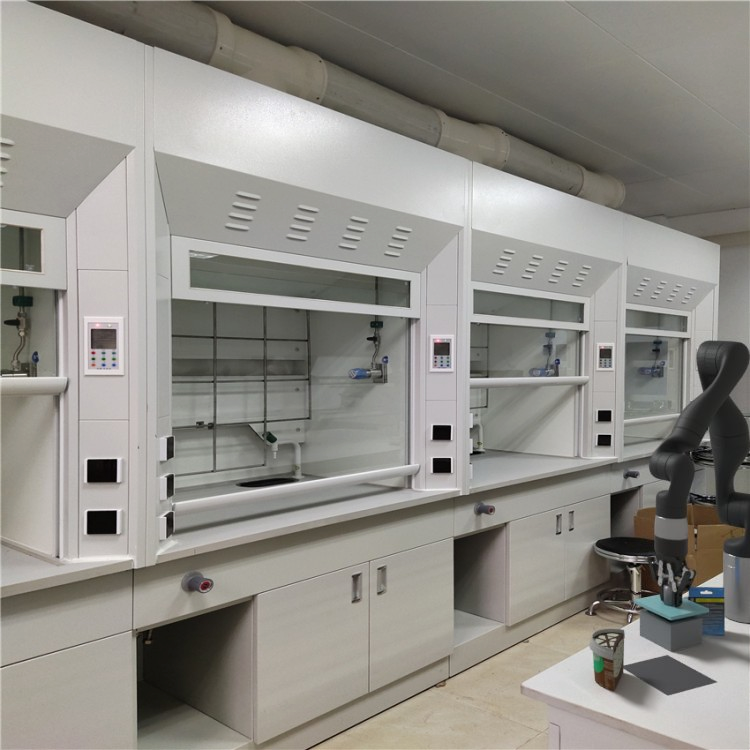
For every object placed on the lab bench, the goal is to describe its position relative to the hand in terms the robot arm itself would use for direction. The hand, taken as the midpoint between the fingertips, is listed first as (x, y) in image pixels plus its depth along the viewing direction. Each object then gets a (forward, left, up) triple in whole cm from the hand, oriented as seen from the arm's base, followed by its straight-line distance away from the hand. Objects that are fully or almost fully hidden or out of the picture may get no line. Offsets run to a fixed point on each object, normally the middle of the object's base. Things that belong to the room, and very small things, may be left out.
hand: (670, 603), depth 169 cm
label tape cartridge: (-12, -1, -10) cm, 16 cm away
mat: (+14, +13, -10) cm, 21 cm away
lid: (0, 0, -1) cm, 1 cm away
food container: (+28, +9, -10) cm, 31 cm away
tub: (0, 0, -10) cm, 10 cm away
